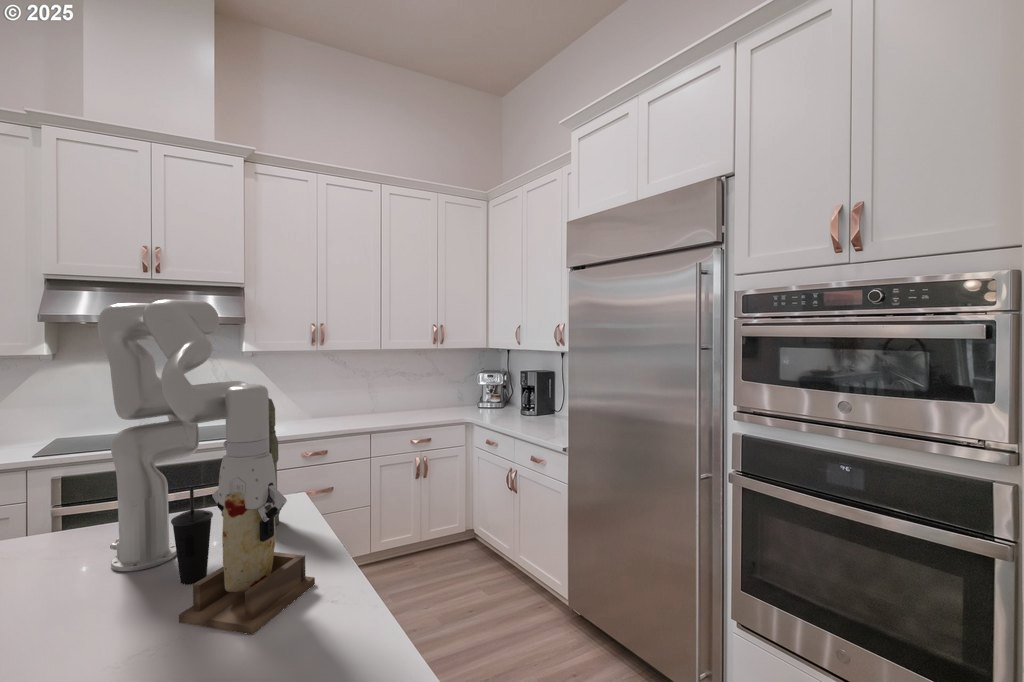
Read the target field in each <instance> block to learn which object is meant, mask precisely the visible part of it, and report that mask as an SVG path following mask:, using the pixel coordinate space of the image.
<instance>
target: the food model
mask: <svg viewBox="0 0 1024 682" xmlns="http://www.w3.org/2000/svg"><path fill="white" fill-rule="evenodd" d="M266 503H267V501H266ZM273 506H274V503H273ZM265 509H266V511H267V512H268V510H267V507H265ZM260 521H262V518H261V516H260V514H259V512H258V510H248V509H246V508H245V500H244V495H241V493H238V492H236V493H234V494H231V495H230V496H228V495H226V496H225V500H224V512H223V517H222V535H221V536H222V539H221V540H222V543H221V544H222V567H224V583H225V590H226V591H228V592H239V591H243V590H247V589H250V588H251V587H253V586H254V585H255V584H257V583H258V582H260V581H261V580H263V579H264V578H266V577H267V576H269V575H270V574H271V571H272V565H273V557H274V552H275V545H276V526H275V517H274V536H273V537H271V538H269V539H268V540H266V541H264V542H261V541H260Z"/></svg>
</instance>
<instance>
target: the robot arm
mask: <svg viewBox="0 0 1024 682" xmlns="http://www.w3.org/2000/svg"><path fill="white" fill-rule="evenodd" d="M219 327H220V317H219V313H218V311H217V310H216V308H215V307H214V306H213V305H212V304H210V303H209V302H207V301H203V300H190V299H189V300H187V299H185V300H184V299H160V300H156V301H153V302H151V303H147V302H146V303H145V302H143V303H142V302H141V303H140V302H137V303H136V302H124V303H123V302H122V303H115V304H110V305H108V306H107V307H105V308H104V309H102V310H101V312H100V313H99V316H98V320H97V332H98V333H97V334H98V337H99V341H100V344H101V346H102V349H103V351H104V353H105V355H106V358H107V360H108V363H109V369H110V377H111V389H112V396H113V402H114V403H113V404H114V410H115V412H116V414H117V416H118V417H119V418H120V419H122V420H125V421H126V420H127V421H138V420H145V419H146V420H147V419H152V418H153V419H154V418H158V417H165V416H166V417H167V419H168V420H167V421H160V422H151V423H145V424H140V425H134V426H131V427H130V426H129V427H128V428H124V429H122V430H120V431H118V432H117V433H116V434H115V435H114V436H113V437H112V438H111V442H110V452H111V457H112V461H113V464H114V468H115V469H114V470H115V474H116V475H115V476H116V488H117V513H118V515H117V518H118V521H117V522H118V537H117V538H116V540H115V542H112V543H111V544H110V545H109V549H110V550H114V551H116V556H115V557H113V558H112V560H111V561H110V567H111V569H112V570H114V571H117V572H134V571H141V570H145V569H149V568H154V567H157V566H160V565H162V564H165V563H166V562H168V561H170V560H172V559H173V558H174V557H175V556H177V552H176V545H175V544H173V543H170V523H169V522H170V520H169V519H170V518H169V516H170V515H169V514H170V513H169V484H168V479H167V477H166V476H165V475H164V473H162V472H161V471H160V470H159V469H158V468H157V467H156V465H158V464H162V463H165V462H170V461H174V460H178V459H179V460H180V459H182V458H187V457H190V456H191V455H192V456H193V454H195V453H196V452H197V450H198V448H199V445H200V431H199V424H202V423H209V422H213V421H214V422H215V421H220V420H221V421H222V420H225V441H224V442H223V448H225V451H226V452H225V453H226V454H224V455H223V456H222V459H221V463H220V464H221V465H220V468H219V477H218V489H217V490H215V491H214V492H213V493H212V496H211V497H212V499H214V501H215V503H216V506H217V508H218V510H220V512H221V517H222V518H223V512H224V500H225V496H226V495H228V496H230V495H231V494H234V493H236V492H238V493H241V495H244V500H245V508H246V509H248V510H258V512H259V514H260V516H261V518H262V521H260V541H261V542H264V541H266V540H268V539H269V538H271V537H273V536H274V517H275V516H277V514H278V513H279V512H280V513H281V511H282V508H283V507H284V505H286V503H287V502H288V500H287V498H286V497H285V496H284V495H283V494H282V493H281V491H279V490H278V488H277V489H276V475H275V468H274V462H273V458H272V454H270V453H269V402H268V398H269V391H268V388H267V387H266V386H265V385H262V384H256V383H255V384H253V383H251V384H250V383H247V382H245V381H242V380H241V381H240V380H229V381H222V382H220V381H219V382H218V381H217V382H207V383H201V384H200V383H199V384H191V382H190V381H189V379H187V377H186V375H185V374H187V373H188V372H190V371H193V370H194V369H197V368H199V367H200V366H201V365H203V364H204V363H206V362H207V361H208V360H209V358H210V357H211V356H212V353H213V344H212V342H211V341H210V339H209V338H208V337H211V336H213V335H214V334H216V332H217V331H218V330H219ZM140 340H143V341H144V340H145V341H147V340H151V341H152V340H154V341H155V342H156V344H157V345H158V347H159V348H160V350H161V351H162V353H163V355H164V356H165V358H166V359H167V361H166V363H165V365H164V366H163V369H162V371H161V376H158V375H157V371H156V361H155V357H154V356H153V354H152V353H151V352H150V350H148V349H147V348H146V347H145V346H144V345H143V344H142V343H140ZM266 501H267V503H266ZM274 501H275V505H274V506H273V502H274ZM265 507H267V510H268V512H267V511H266V509H265Z"/></svg>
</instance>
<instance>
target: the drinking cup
mask: <svg viewBox="0 0 1024 682" xmlns="http://www.w3.org/2000/svg"><path fill="white" fill-rule="evenodd" d="M194 491H195V490H194V487H193V486H191V487H189V503H190V504H189V510H187V511H183V512H182V513H179V515H176V516H174V517H172V519H171V520H170V524H171V525H172V527H173V530H172V531H173V535H174V545H175V546H176V552H177V554H176V560H177V565H178V566H177V567H178V573H179V574H178V575H179V581H180V584H181V585H184V584H185V586H187V585H189V584H190V585H193V584H194V583H196V582H198V581H199V580H201V579H203V578H204V577H206V576H208V565H209V552H210V550H209V549H210V540H211V539H210V538H211V529H212V528H211V527H212V526H211V525H212V518H213V516H214V513H213V511H211V510H205V509H195V500H194V497H195V496H194V495H195V494H194ZM190 585H189V586H190Z"/></svg>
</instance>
